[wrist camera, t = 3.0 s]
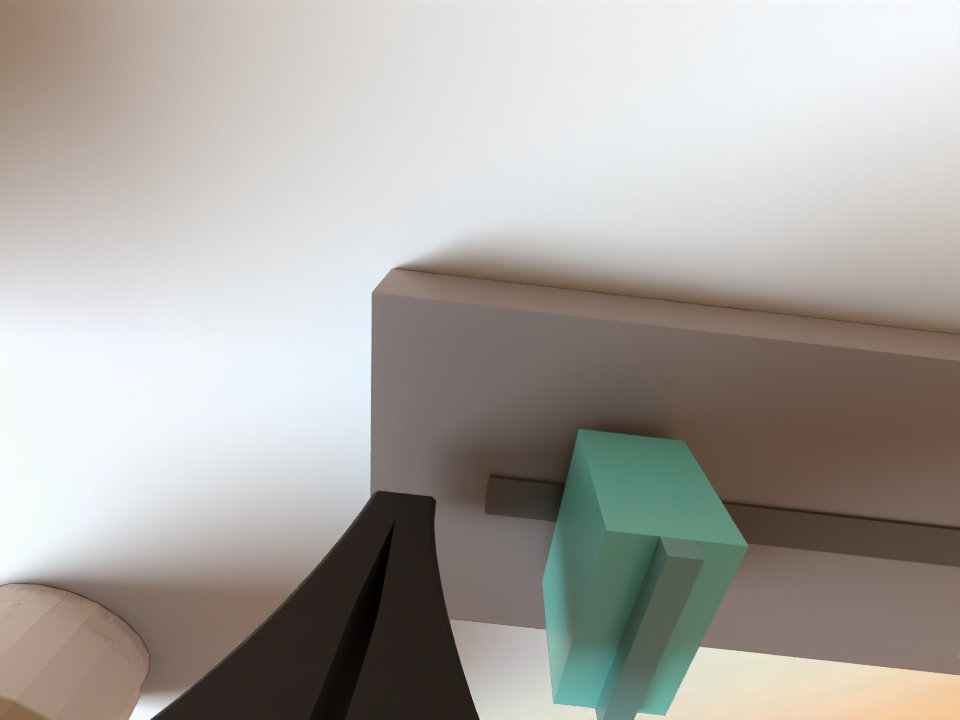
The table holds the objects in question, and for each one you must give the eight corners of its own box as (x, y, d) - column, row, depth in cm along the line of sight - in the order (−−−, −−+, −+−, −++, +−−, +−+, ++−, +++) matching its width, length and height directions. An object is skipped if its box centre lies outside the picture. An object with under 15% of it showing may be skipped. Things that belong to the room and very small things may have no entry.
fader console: (1075, 633, 16) (1153, 699, 14) (385, 555, 16) (369, 613, 14) (1338, 379, 12) (1501, 425, 10) (392, 268, 11) (370, 293, 10)
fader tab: (629, 591, 13) (671, 737, 9) (542, 582, 13) (555, 725, 9) (684, 440, 10) (760, 566, 7) (579, 428, 10) (611, 549, 7)
